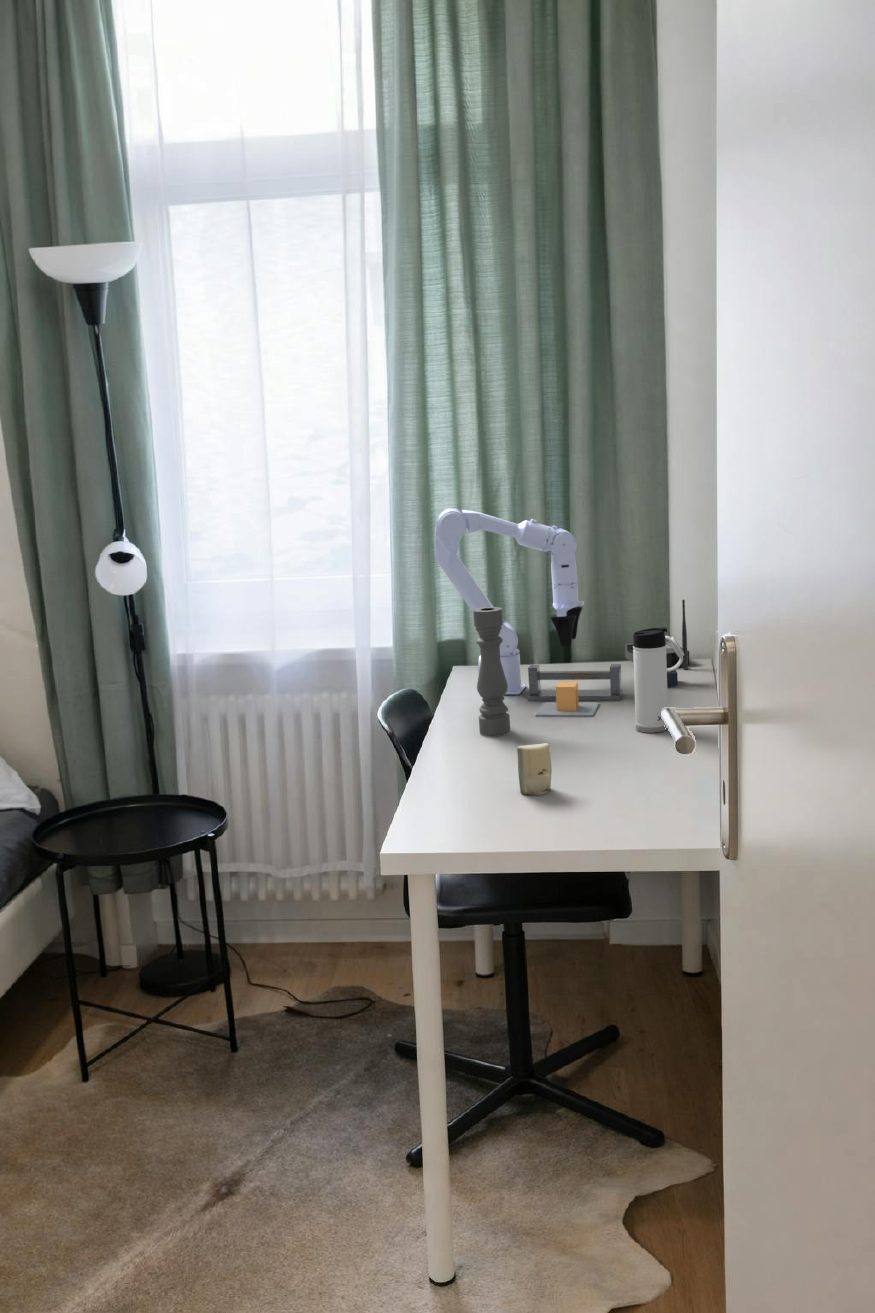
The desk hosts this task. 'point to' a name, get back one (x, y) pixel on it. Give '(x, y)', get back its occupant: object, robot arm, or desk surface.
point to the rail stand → (583, 695)
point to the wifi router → (669, 648)
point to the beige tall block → (534, 769)
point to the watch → (671, 672)
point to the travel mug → (650, 679)
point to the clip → (567, 696)
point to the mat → (581, 710)
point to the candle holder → (491, 673)
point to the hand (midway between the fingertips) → (568, 642)
